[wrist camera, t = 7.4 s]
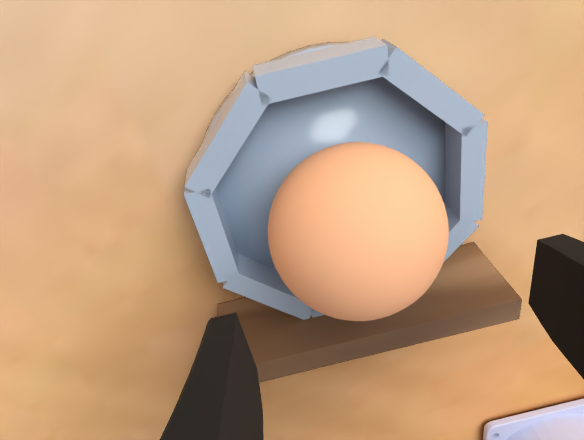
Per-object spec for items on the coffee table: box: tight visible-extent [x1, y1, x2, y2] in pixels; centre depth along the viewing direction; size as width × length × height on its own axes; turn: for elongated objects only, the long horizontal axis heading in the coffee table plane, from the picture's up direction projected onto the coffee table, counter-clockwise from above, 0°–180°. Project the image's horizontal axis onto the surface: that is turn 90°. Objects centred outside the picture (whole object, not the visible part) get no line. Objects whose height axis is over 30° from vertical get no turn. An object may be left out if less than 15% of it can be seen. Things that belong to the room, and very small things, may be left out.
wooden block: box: [218, 242, 522, 382], centre depth 17 cm, size 1×11×4 cm, turn 101°
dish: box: [184, 37, 488, 320], centre depth 15 cm, size 9×9×2 cm
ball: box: [268, 142, 449, 321], centre depth 13 cm, size 5×5×5 cm
